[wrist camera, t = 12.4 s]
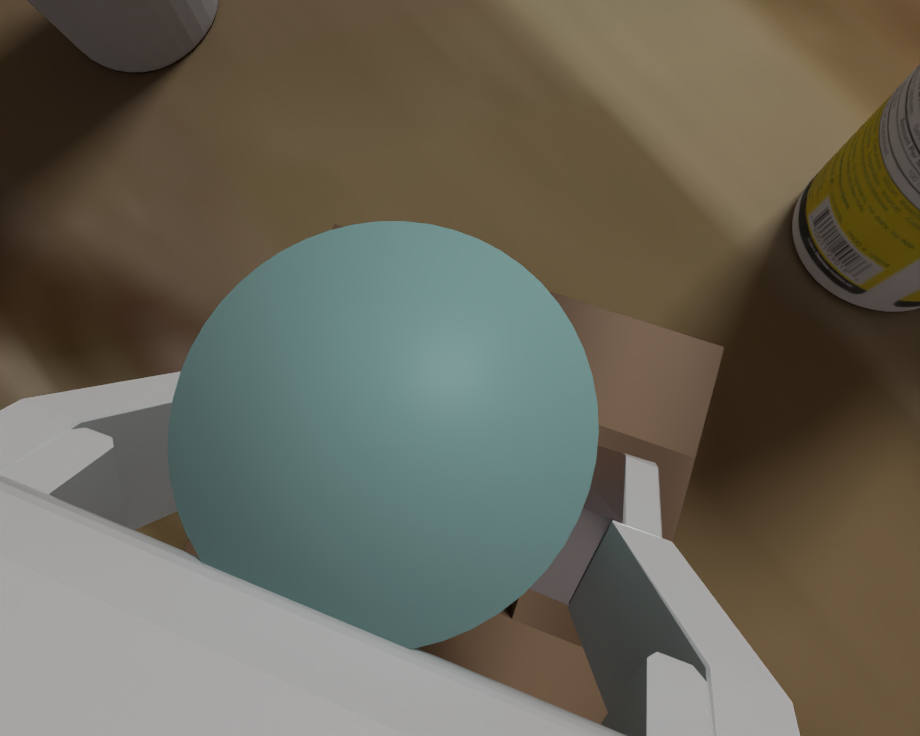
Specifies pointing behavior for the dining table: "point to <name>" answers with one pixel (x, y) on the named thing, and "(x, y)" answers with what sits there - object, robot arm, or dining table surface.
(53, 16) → the coffee cup
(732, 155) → the dining table surface
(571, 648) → the socket block
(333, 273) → the peg
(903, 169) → the supplement bottle
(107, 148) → the dining table surface
